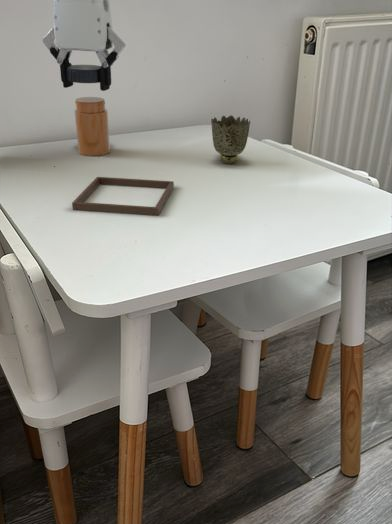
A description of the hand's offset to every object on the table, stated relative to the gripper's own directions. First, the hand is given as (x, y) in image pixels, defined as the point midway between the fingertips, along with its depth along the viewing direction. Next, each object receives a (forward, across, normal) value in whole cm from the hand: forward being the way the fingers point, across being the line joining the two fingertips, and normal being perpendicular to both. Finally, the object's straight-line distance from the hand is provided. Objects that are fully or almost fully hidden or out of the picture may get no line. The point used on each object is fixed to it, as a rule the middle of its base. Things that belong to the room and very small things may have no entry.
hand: (86, 87), depth 108 cm
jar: (+12, -1, 0) cm, 12 cm away
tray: (+12, -17, +27) cm, 34 cm away
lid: (-3, 0, 0) cm, 3 cm away
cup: (+12, -29, -1) cm, 31 cm away
